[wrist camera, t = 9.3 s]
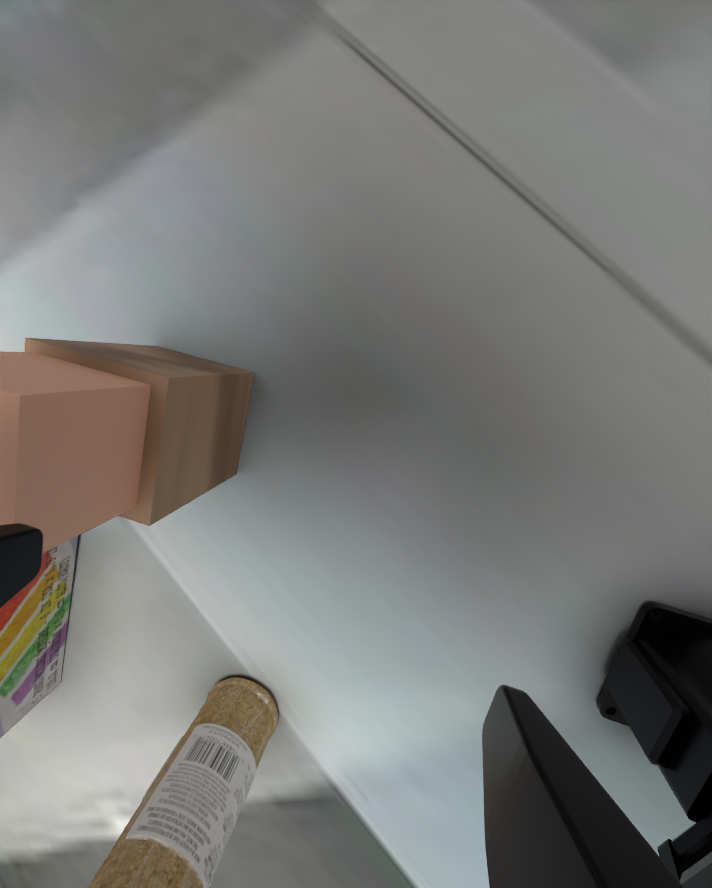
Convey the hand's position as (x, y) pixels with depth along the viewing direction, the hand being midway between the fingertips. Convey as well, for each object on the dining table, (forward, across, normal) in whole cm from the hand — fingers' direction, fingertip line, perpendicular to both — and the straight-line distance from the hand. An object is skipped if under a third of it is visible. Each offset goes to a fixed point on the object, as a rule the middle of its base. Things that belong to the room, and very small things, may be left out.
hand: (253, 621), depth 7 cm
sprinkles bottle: (+13, +3, +17) cm, 22 cm away
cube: (+6, +9, 0) cm, 11 cm away
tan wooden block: (+13, +9, 0) cm, 16 cm away
